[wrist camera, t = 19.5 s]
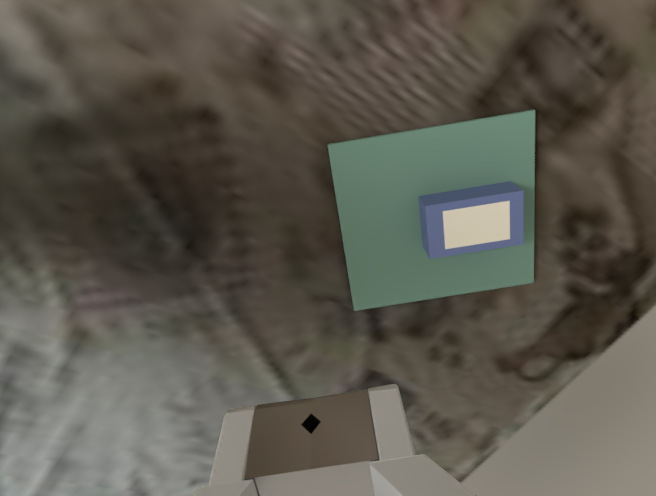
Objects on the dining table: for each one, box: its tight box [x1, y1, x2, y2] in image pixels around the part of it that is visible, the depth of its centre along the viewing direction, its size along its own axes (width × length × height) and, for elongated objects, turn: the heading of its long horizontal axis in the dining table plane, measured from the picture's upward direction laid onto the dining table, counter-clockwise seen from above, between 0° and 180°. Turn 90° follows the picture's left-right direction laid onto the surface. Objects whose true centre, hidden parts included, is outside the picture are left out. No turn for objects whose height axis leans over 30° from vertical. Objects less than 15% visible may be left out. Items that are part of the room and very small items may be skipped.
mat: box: [327, 110, 535, 311], centre depth 38 cm, size 15×14×1 cm
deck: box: [418, 181, 523, 259], centre depth 37 cm, size 4×2×7 cm
